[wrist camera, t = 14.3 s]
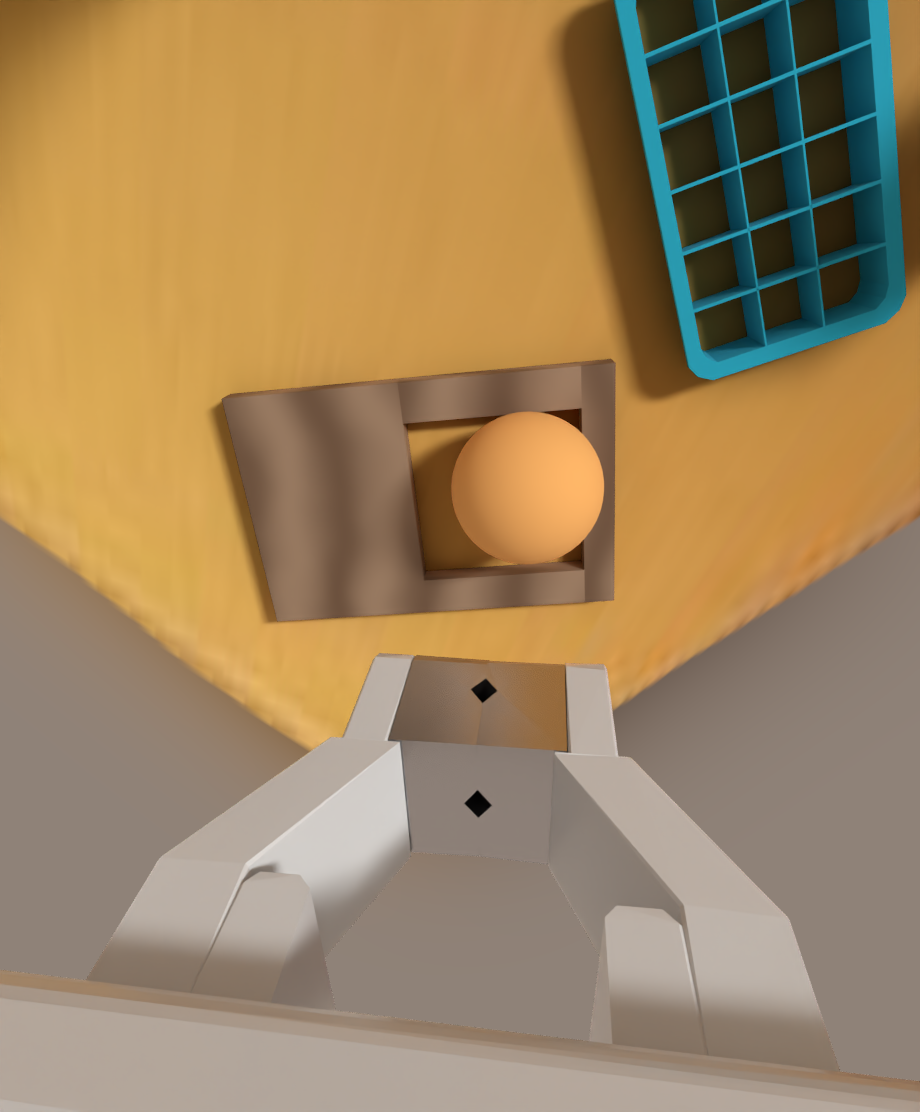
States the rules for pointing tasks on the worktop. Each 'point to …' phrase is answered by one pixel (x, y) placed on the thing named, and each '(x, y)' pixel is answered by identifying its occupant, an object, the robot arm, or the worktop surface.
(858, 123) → the ice cube tray
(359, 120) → the worktop surface
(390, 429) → the walnut board
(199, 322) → the worktop surface
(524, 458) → the ball
